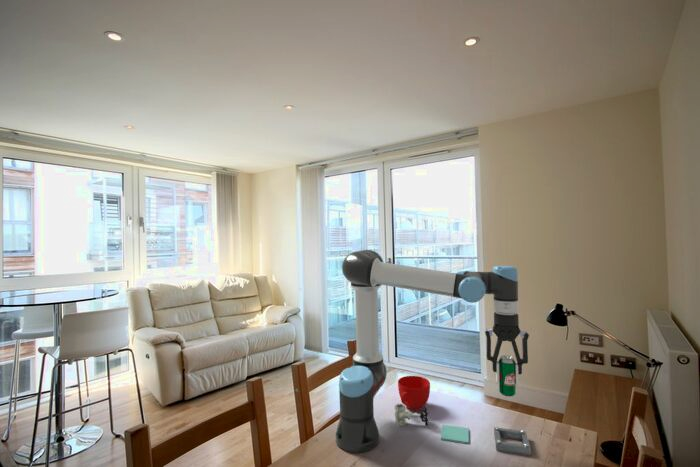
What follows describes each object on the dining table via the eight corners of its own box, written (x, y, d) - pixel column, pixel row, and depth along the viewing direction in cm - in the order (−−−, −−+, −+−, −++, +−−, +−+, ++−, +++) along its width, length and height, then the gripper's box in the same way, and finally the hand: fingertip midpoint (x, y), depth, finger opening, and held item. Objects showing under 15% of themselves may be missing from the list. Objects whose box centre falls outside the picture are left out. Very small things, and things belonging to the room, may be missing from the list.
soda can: (506, 398, 116) (505, 361, 116) (495, 391, 121) (495, 356, 121) (519, 395, 117) (518, 359, 117) (508, 389, 122) (507, 354, 122)
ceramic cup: (387, 412, 142) (387, 387, 142) (407, 396, 155) (406, 373, 155) (418, 422, 134) (417, 395, 134) (435, 404, 148) (435, 379, 148)
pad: (440, 439, 122) (440, 438, 122) (442, 426, 131) (442, 424, 131) (468, 443, 120) (468, 442, 120) (468, 429, 128) (468, 428, 128)
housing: (496, 450, 115) (496, 441, 115) (494, 434, 125) (493, 425, 125) (530, 455, 112) (530, 446, 112) (525, 438, 122) (525, 429, 122)
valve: (394, 428, 131) (428, 429, 129) (394, 410, 131) (427, 411, 129) (394, 418, 137) (426, 420, 136) (394, 401, 137) (426, 402, 136)
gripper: (477, 313, 118) (478, 384, 118) (538, 316, 113) (539, 390, 113) (476, 308, 125) (477, 375, 125) (534, 311, 120) (535, 381, 120)
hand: (507, 382), depth 119 cm, fingers closed on soda can, 5 cm apart
